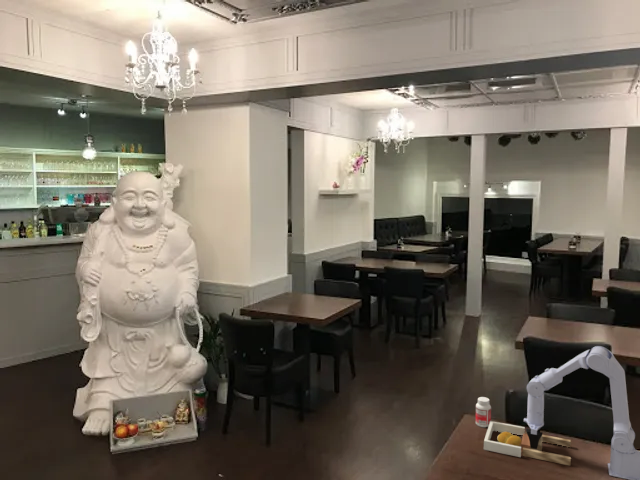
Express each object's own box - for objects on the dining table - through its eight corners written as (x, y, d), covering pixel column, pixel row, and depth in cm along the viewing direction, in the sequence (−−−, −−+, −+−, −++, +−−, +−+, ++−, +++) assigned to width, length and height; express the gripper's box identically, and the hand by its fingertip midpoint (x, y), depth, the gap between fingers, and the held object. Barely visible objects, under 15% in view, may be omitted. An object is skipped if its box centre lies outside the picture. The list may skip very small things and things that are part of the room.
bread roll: (514, 452, 190) (514, 442, 190) (494, 442, 197) (494, 433, 197) (526, 445, 195) (527, 435, 195) (506, 436, 202) (506, 426, 202)
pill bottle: (485, 420, 216) (486, 395, 215) (493, 426, 210) (494, 401, 209) (472, 421, 214) (473, 397, 213) (480, 428, 208) (480, 403, 207)
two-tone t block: (542, 444, 195) (542, 429, 194) (541, 455, 187) (541, 440, 186) (523, 440, 198) (523, 426, 198) (521, 451, 190) (521, 436, 190)
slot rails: (570, 446, 193) (570, 439, 193) (570, 465, 180) (570, 459, 180) (525, 437, 201) (525, 431, 200) (522, 455, 187) (522, 449, 187)
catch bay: (524, 435, 202) (524, 427, 202) (520, 457, 186) (520, 448, 186) (490, 428, 208) (490, 420, 208) (483, 449, 192) (483, 440, 191)
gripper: (525, 400, 199) (524, 433, 200) (522, 415, 186) (521, 450, 187) (545, 403, 196) (543, 437, 197) (543, 419, 183) (542, 454, 184)
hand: (534, 444), depth 192 cm, fingers open, 6 cm apart
